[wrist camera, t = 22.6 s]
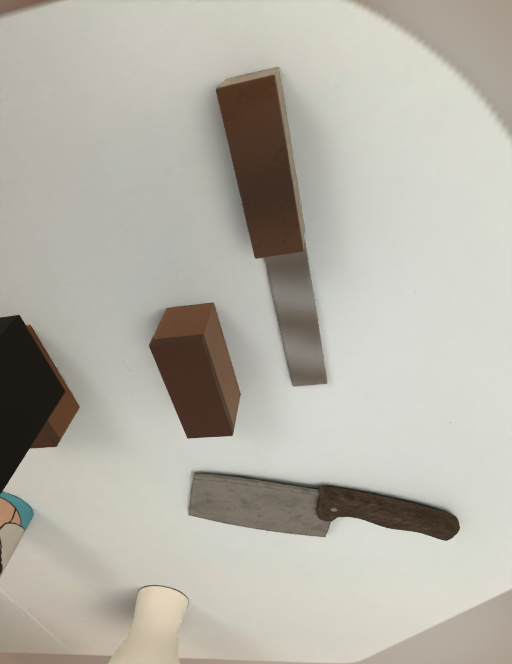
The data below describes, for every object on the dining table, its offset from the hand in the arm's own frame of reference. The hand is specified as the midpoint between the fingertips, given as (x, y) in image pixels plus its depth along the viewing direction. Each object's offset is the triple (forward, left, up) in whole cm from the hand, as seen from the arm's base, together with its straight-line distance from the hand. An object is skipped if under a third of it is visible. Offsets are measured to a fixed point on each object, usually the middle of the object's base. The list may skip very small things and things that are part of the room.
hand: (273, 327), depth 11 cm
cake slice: (+16, -10, -21) cm, 28 cm away
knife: (+7, -2, -21) cm, 22 cm away
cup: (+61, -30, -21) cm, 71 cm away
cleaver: (+39, -4, -21) cm, 44 cm away
